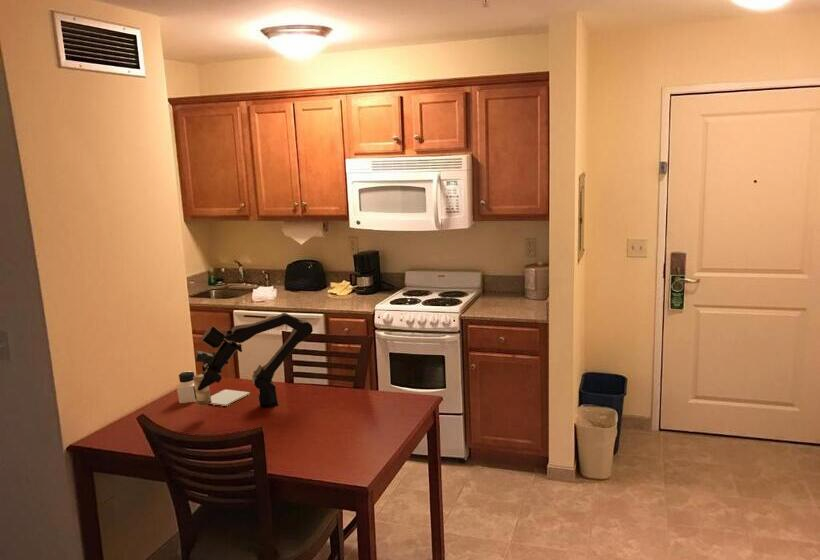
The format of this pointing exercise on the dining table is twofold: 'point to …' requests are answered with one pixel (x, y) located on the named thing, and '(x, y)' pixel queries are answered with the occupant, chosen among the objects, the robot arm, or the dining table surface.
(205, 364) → the robot arm
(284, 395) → the dining table surface
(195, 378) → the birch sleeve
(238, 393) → the white square tile
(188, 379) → the medicine bottle
